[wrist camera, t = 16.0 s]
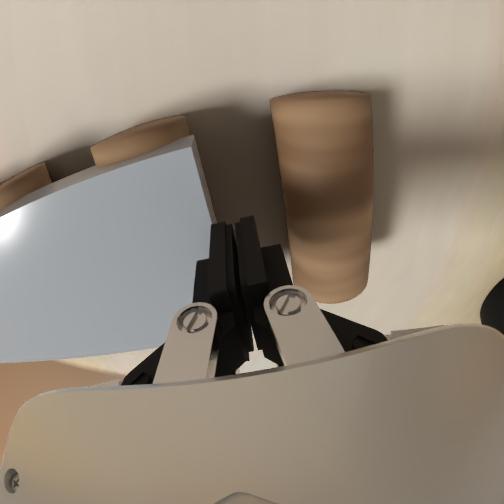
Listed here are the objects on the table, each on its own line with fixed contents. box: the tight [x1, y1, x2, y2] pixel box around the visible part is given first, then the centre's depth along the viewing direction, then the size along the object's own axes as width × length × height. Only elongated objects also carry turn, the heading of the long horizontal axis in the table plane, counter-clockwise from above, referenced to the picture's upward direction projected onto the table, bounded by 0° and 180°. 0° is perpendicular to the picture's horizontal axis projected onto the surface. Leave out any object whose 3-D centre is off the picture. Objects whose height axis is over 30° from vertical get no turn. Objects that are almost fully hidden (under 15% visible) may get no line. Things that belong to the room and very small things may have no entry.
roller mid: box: [90, 115, 190, 166], centre depth 14 cm, size 10×4×4 cm, turn 9°
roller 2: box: [270, 91, 374, 304], centre depth 14 cm, size 10×4×4 cm, turn 9°
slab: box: [0, 135, 217, 363], centre depth 13 cm, size 18×9×2 cm, turn 100°
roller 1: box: [0, 162, 52, 211], centre depth 14 cm, size 10×4×4 cm, turn 9°
